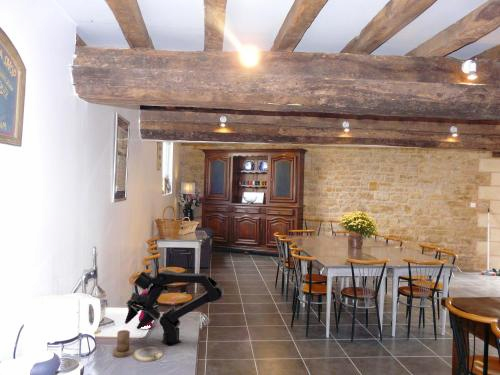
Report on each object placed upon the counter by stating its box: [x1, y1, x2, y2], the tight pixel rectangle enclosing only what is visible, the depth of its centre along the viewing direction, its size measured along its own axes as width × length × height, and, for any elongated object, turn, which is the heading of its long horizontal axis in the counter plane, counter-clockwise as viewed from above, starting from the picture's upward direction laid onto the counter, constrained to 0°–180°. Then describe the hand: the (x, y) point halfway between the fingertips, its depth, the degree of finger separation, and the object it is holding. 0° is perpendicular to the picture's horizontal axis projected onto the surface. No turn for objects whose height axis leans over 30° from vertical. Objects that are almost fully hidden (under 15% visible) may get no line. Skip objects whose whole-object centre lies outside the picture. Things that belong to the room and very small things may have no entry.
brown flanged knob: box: [112, 329, 134, 358], centre depth 174 cm, size 8×8×9 cm
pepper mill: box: [138, 289, 153, 329], centre depth 205 cm, size 7×7×20 cm
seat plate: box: [133, 346, 164, 362], centre depth 173 cm, size 12×12×3 cm
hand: (131, 326), depth 178 cm, fingers open, 9 cm apart
